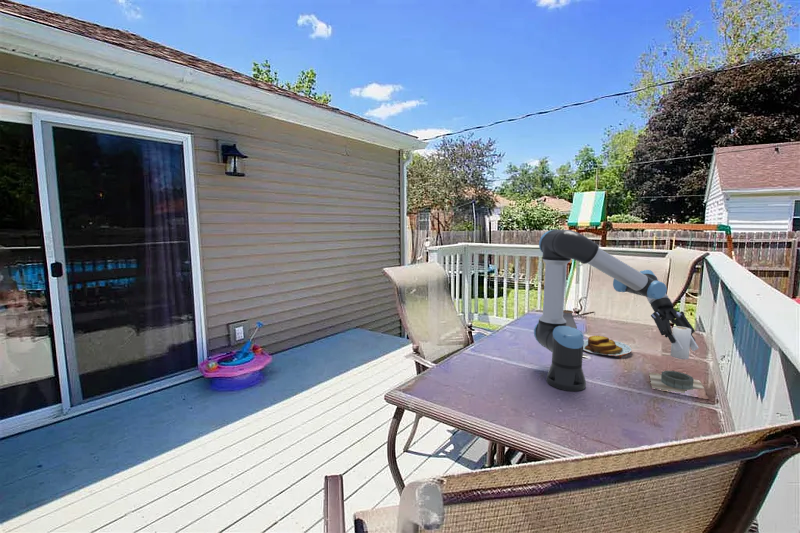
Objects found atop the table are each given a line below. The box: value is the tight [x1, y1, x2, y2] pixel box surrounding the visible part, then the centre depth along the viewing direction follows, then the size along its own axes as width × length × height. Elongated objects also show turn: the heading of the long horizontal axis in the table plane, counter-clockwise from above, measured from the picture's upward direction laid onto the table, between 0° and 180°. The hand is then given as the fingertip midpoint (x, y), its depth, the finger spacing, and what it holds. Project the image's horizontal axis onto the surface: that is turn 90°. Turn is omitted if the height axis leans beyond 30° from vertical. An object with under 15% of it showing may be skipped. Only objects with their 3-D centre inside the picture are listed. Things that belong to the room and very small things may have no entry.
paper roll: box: [670, 325, 691, 360], centre depth 150 cm, size 6×6×12 cm
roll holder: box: [648, 370, 705, 393], centre depth 151 cm, size 18×18×4 cm
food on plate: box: [583, 335, 633, 359], centre depth 195 cm, size 25×25×7 cm
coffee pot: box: [563, 309, 596, 329], centre depth 226 cm, size 21×12×15 cm, turn 49°
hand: (688, 349), depth 146 cm, fingers closed on paper roll, 6 cm apart
